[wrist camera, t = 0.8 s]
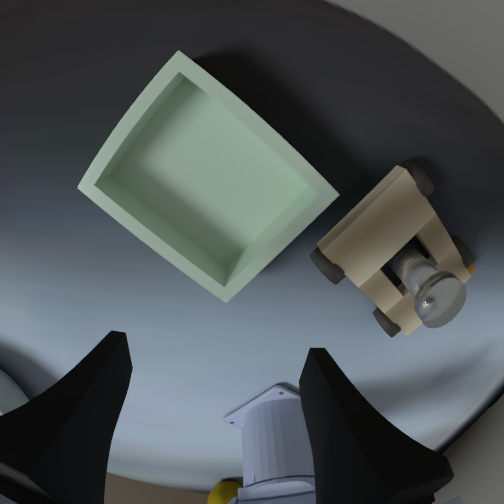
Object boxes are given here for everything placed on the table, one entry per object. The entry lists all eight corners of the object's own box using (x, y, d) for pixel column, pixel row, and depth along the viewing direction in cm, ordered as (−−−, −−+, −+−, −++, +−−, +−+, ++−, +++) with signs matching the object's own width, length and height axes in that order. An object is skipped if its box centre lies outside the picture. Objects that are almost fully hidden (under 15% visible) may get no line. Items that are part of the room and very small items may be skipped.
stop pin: (419, 248, 20) (472, 300, 14) (390, 276, 21) (433, 336, 15) (399, 220, 19) (455, 269, 13) (367, 251, 20) (412, 310, 14)
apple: (205, 475, 36) (203, 519, 29) (247, 474, 36) (249, 520, 29) (211, 487, 39) (210, 526, 32) (249, 487, 39) (251, 527, 32)
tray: (324, 181, 18) (339, 194, 15) (227, 277, 21) (226, 303, 18) (188, 60, 15) (178, 50, 12) (98, 175, 17) (77, 187, 15)
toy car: (466, 261, 21) (483, 276, 19) (393, 330, 24) (404, 350, 22) (397, 151, 17) (417, 158, 15) (302, 244, 20) (310, 263, 18)
